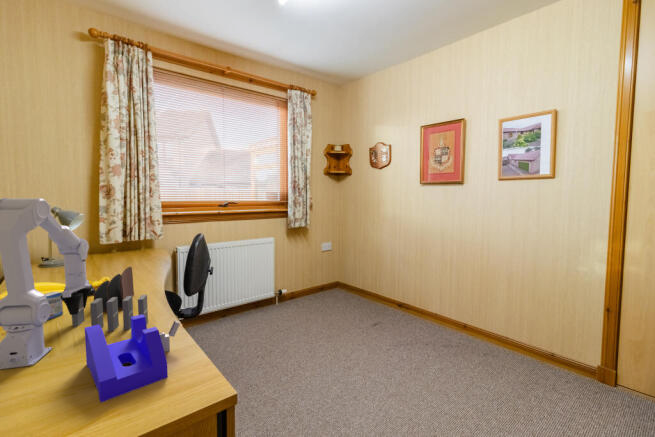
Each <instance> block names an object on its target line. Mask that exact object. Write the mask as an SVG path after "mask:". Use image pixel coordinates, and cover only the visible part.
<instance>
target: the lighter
mask: <svg viewBox="0 0 655 437" xmlns="http://www.w3.org/2000/svg"><path fill="white" fill-rule="evenodd" d="M180 325H181V322H180V320H173V323H172V325H171V327H170V330H169V331H168V333H165V332H159V334H160V338H161V341H162V345H163V349H164V352H168V351H169V352H170V350H171V347H170V346H171V345H170V344H171V343H170V342H171V341H170V338H171V337H173V338H174V337H175V336H176V333H177V331H178V329H179V327H180Z"/></svg>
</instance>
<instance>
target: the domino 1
mask: <svg viewBox="0 0 655 437" xmlns="http://www.w3.org/2000/svg"><path fill="white" fill-rule="evenodd" d="M80 294H83V293H80ZM71 322H72V324H71V326H72V328H74V327H79V326H80V325H81V324H83V323H84V322H85V308H84V304H83V295H82V297H81V299H80V304H79V312H78V314H75V315H71Z"/></svg>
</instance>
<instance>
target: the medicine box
mask: <svg viewBox="0 0 655 437" xmlns="http://www.w3.org/2000/svg"><path fill="white" fill-rule="evenodd" d="M43 294H44V295H46V299H47V302H48V303H49V305H50V307H51V314H50V317H49V318H48V320H47V321H49V320H52V319H54V318H57V317H60V316H63V315H64V311H63V309H64V308H63V307H64V306H63V300H62V299H61V295H62V291H51V292H47V293H43Z"/></svg>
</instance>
